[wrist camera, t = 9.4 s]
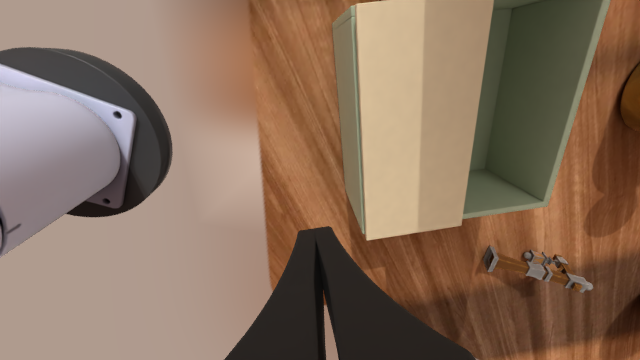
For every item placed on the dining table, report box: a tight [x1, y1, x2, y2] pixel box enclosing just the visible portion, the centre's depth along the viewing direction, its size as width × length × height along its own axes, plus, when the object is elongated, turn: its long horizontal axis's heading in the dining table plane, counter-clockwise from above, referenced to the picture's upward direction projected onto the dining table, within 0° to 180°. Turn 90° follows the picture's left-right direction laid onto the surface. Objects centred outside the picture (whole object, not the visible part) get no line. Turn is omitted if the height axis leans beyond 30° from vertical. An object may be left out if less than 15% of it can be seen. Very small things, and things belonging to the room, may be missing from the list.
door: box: [355, 0, 494, 241], centre depth 13 cm, size 6×12×1 cm, turn 6°
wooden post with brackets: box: [483, 246, 593, 293], centre depth 25 cm, size 2×8×4 cm, turn 85°
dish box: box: [332, 0, 610, 234], centre depth 16 cm, size 12×12×6 cm
